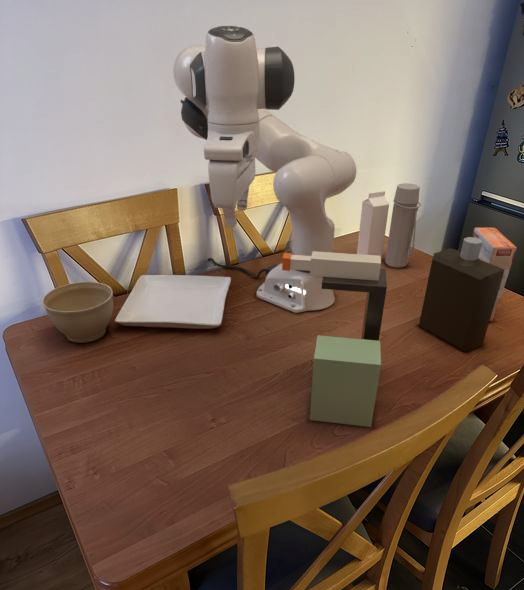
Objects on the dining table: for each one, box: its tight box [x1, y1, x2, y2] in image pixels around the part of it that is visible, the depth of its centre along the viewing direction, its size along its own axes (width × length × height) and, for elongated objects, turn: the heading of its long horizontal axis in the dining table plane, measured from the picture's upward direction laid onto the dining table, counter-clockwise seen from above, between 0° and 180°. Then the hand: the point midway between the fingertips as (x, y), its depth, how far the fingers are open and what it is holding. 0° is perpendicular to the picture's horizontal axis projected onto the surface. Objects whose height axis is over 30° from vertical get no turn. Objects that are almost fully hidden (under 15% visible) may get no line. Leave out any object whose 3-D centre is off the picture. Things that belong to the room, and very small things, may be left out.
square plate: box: [114, 274, 232, 330], centre depth 134 cm, size 27×27×4 cm
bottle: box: [418, 236, 504, 353], centre depth 116 cm, size 8×16×25 cm, turn 33°
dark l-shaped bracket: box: [322, 268, 388, 341], centre depth 102 cm, size 12×8×25 cm, turn 80°
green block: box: [309, 334, 382, 428], centre depth 95 cm, size 12×8×15 cm, turn 80°
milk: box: [356, 191, 390, 260], centre depth 156 cm, size 6×6×22 cm
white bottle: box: [281, 251, 382, 281], centre depth 94 cm, size 18×4×4 cm, turn 80°
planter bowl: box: [42, 281, 114, 344], centre depth 121 cm, size 16×16×11 cm
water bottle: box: [384, 182, 422, 269], centre depth 151 cm, size 9×8×25 cm
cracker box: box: [471, 226, 517, 322], centre depth 128 cm, size 14×6×21 cm, turn 178°
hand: (237, 217), depth 92 cm, fingers open, 8 cm apart
